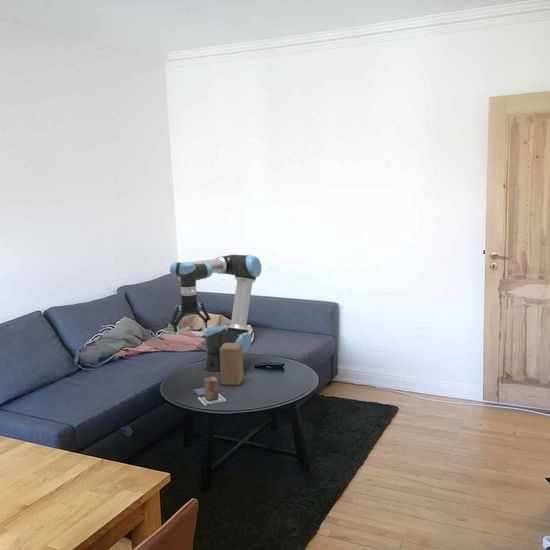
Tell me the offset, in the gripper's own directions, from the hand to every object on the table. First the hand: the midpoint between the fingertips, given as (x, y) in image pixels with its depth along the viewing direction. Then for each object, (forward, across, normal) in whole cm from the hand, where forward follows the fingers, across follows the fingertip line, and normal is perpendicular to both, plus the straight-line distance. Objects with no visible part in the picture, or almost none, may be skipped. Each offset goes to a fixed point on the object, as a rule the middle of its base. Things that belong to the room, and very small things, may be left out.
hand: (191, 336), depth 285 cm
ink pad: (+29, +4, -4) cm, 29 cm away
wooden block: (+29, +22, +3) cm, 36 cm away
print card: (+29, +4, -14) cm, 32 cm away
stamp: (+28, +4, -14) cm, 32 cm away
